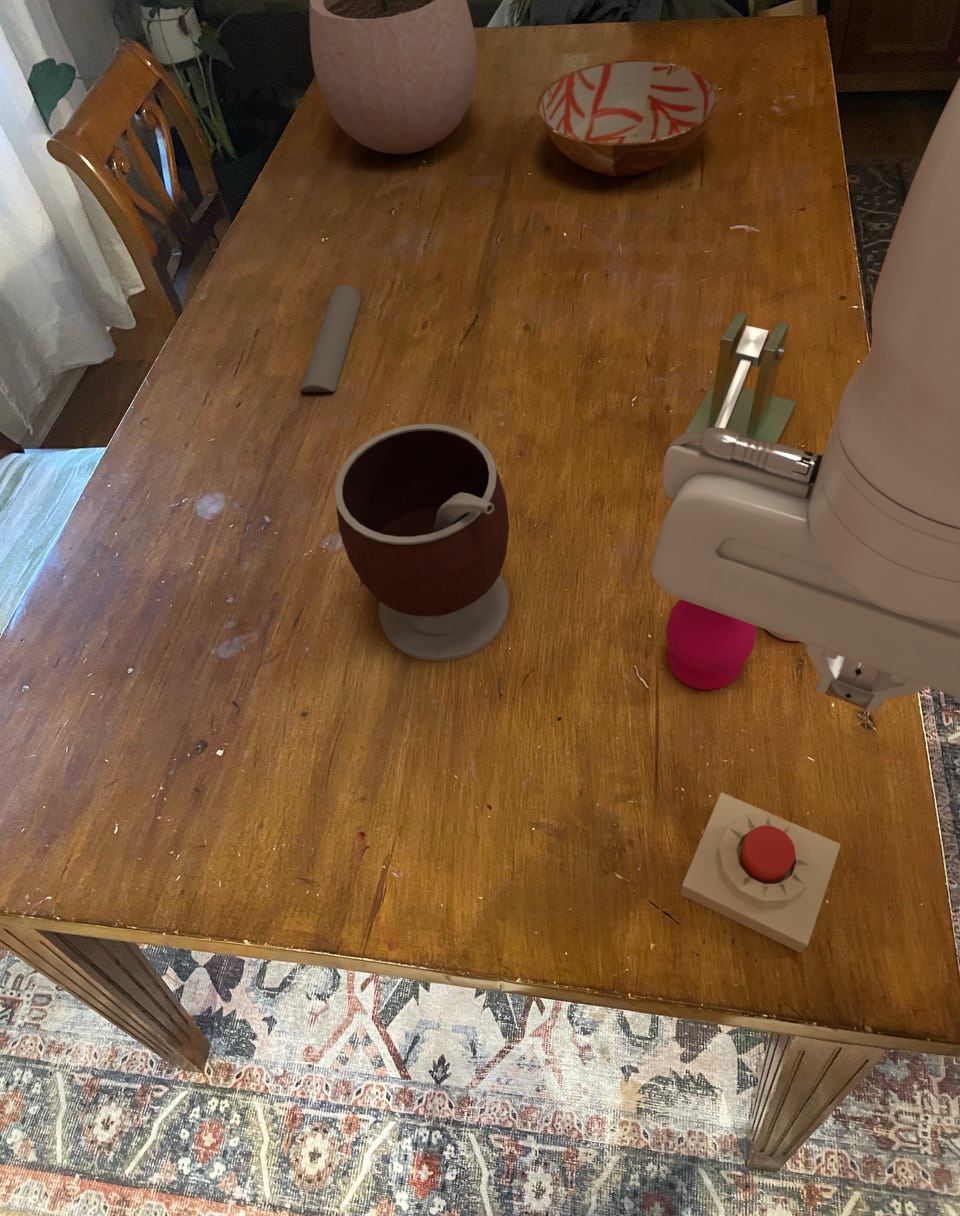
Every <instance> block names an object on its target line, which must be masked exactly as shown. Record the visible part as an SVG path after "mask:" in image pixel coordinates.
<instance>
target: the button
mask: <svg viewBox="0 0 960 1216" xmlns="http://www.w3.org/2000/svg"><path fill="white" fill-rule="evenodd" d="M794 859H795V848H794V845H793V842H792V841H791V839H790V838H789V836H788V835H787V834H786V833H784V832H783V831H782V830H780V829H778V828H776V827H772V826H759V827H756V828H754V829H753V830H751V831H750V832H749V833H748V835H747V836H746V838H745V841H744V843H743V845H742V848H741V860H742V863H743V865H744V867H745V869H746V870H747V871H748V872H749V873H750V874H751V875H752V876H754V877H755V878H757V879H760V880H763V881H776V880H779V879H781V878H782V877H784V876H785V875H786V874H787V872H788V870H789V869H790V867H791V865H792V864H793V862H794Z"/></svg>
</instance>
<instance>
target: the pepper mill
mask: <svg viewBox="0 0 960 1216" xmlns="http://www.w3.org/2000/svg"><path fill="white" fill-rule="evenodd" d="M665 627H666V628H665V635H666V636H665V637H666V641H667V645H668V647H669V648H668V654H667V655H668V656H667V657H668V659H667V660H668V664H669V667H670V669H671V671H672V673H673V674H674V676H675V677H676V678H677V679H678V680H680V682H682V683H683V684H685V685H686V686H688V687H691V688H694V689H698V690H702V691H714V690H719V689H722V688H725V687H727V686H729V685H730V684H731V683H734V681H735V680H736V679H737V677H738V676H739V675H740V673H741V670H742V667H743V663H744V662H746V660H747V659H748V658H749V657H750V655H751V653H752V652H753V649H754V647H755V643H756V638H757V637H756V636H757V626H755V625H752V624H749V623H746V622H744V621H741V620H738V619H735V618H732V617H730V616H727V615H724V614H721V613H718V612H716V611H713V610H710V609H707V608H704V607H702V606H699V605H696V604H693V603H690V602H687V601H685V600H682V599H679V598H678V600H677V602H676V604H675V605H674V606H673V608H672V609H671V612H670V613H669V616H668V619H667V622H666V626H665Z"/></svg>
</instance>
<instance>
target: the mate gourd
mask: <svg viewBox="0 0 960 1216" xmlns="http://www.w3.org/2000/svg"><path fill="white" fill-rule="evenodd" d="M334 499H335V502H336V503H335V504H336V516H337V523H338V531H339V534H340V537H341V541H342V544H343V546H344V550H345V552H346V555H347V558H348V561H349V563H350V564H351V566H352V568H353V570H354V571H355V573H356V574H357V576H358V578H359V579H360V581H361V583H362V584H363V585H364V587H365V588H366V589H367V590H368V591H369V593H371V595H372V596H373V597H375V599H376V600H378V602H379V605H378V607H379V608H378V609H379V610H378V611H379V613H378V615H379V620H380V623H381V626H382V630H383V633H384V634H385V635H386V637H387V640H389V642H390V643H391V644H392V645H393V646H394V647H396V649H397V650H399V651H401V652H402V653H404V654H405V655H407V656H409V657H412V658H414V659H417V660H421V661H427V662H436V663H437V662H439V663H441V662H443V663H445V662H450V661H457V660H460V659H463V658H467V657H470V656H471V655H474V654H475V653H477V652H479V651H481V650H483V649H484V648H485V647H486V646H489V644H490V643H492V642H493V641H494V639H495V638H496V637H497V636H498V635H499V634H500V632H501V631H502V628H503V627H504V625H505V623H506V620H507V617H508V614H509V609H510V608H509V607H510V599H509V594H508V587H507V585H506V583H505V581H504V578H503V577H502V575H501V572H502V569H503V566H504V563H505V559H506V557H507V552H508V542H509V534H510V533H509V531H510V520H509V511H508V503H507V496H506V493H505V490H504V486H503V483H502V480H501V477H500V475H499V473H498V470H497V469H496V462H495V460H494V458H493V456H492V453H491V452H490V450H489V449H488V448H487V447H486V445H485V444H484V443H483V442H482V441H481V440H479V439H478V438H477V437H475V436H474V435H472V434H471V433H469V432H467V431H464V430H462V429H461V428H457V427H453V426H450V425H447V424H437V423H415V424H409V425H402V426H399V427H395V428H392V429H388V430H386V431H383V432H382V433H379V434H377V435H375V436H373V437H371V438H370V439H368V440H367V441H365V442H363V443H362V444H360V445H359V447H357V448H356V449H355V450H354V451H353V452H352V453H350V455H349V456H348V457H347V459H346V460H345V461H344V462H343V464H342V466H341V468H340V469H339V471H338V474H337V477H336V479H335V483H334Z"/></svg>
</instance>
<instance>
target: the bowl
mask: <svg viewBox="0 0 960 1216" xmlns="http://www.w3.org/2000/svg"><path fill="white" fill-rule="evenodd" d="M718 105H719V91H718V89H717V87H716V85H715V84H714V83H713V81H711V79H710V78H709V77H707V76H706V75H704V74H703V73H701V72H699V71H697V70H695V69H693V68H690V67H688V66H685V65H681V64H677V63H673V62H667V61H659V60H649V59H629V60H627V59H626V60H617V61H610V62H603V63H599V64H594V65H590V66H586V67H583V68H580V69H577V70H574V71H572V72H570V73H567V74H565V75H563V76H561V77H559V78H558V79H556V80H555V81H553V82H552V83H550V84H549V85H547V87H546V88H545V89H544V90H543V91H542V92H541V94H540V95H539V97H538V99H537V101H536V106H535V109H536V114H537V118H538V119H539V122H540V123H541V126H542V127H543V129H544V130H545V132H546V133H547V135H548V137H549V138H550V140H551V141H552V143H553V144H554V145H555V146H556V147H557V148H558V150H559V151H560V152H561V153H563V154H564V155H565V156H566V157H567V158H569V160H571V161H572V162H573V163H574V164H575V163H576V164H577V165H578V166H580V167H583V168H585V169H588V170H590V171H592V172H595V173H598V174H601V175H604V176H610V177H615V178H617V177H619V178H620V177H621V178H622V177H633V176H637V175H641V174H645V173H647V172H650V171H652V170H654V169H656V168H658V167H660V166H663V165H665V164H667V163H668V162H670V161H672V160H674V159H675V158H676V157H678V156H679V155H680V154H682V153H683V152H684V151H685V150H686V149H688V148H689V147H690V146H691V144H692V143H693V142H694V141H695V140H696V138H698V136H699V135H700V134H701V133H702V132H703V130H704V129H705V127H706V126H707V125H708V123H709V121H710V120H711V118H712V116H713V114H714V112H715V111H716V108H717V106H718Z"/></svg>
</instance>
